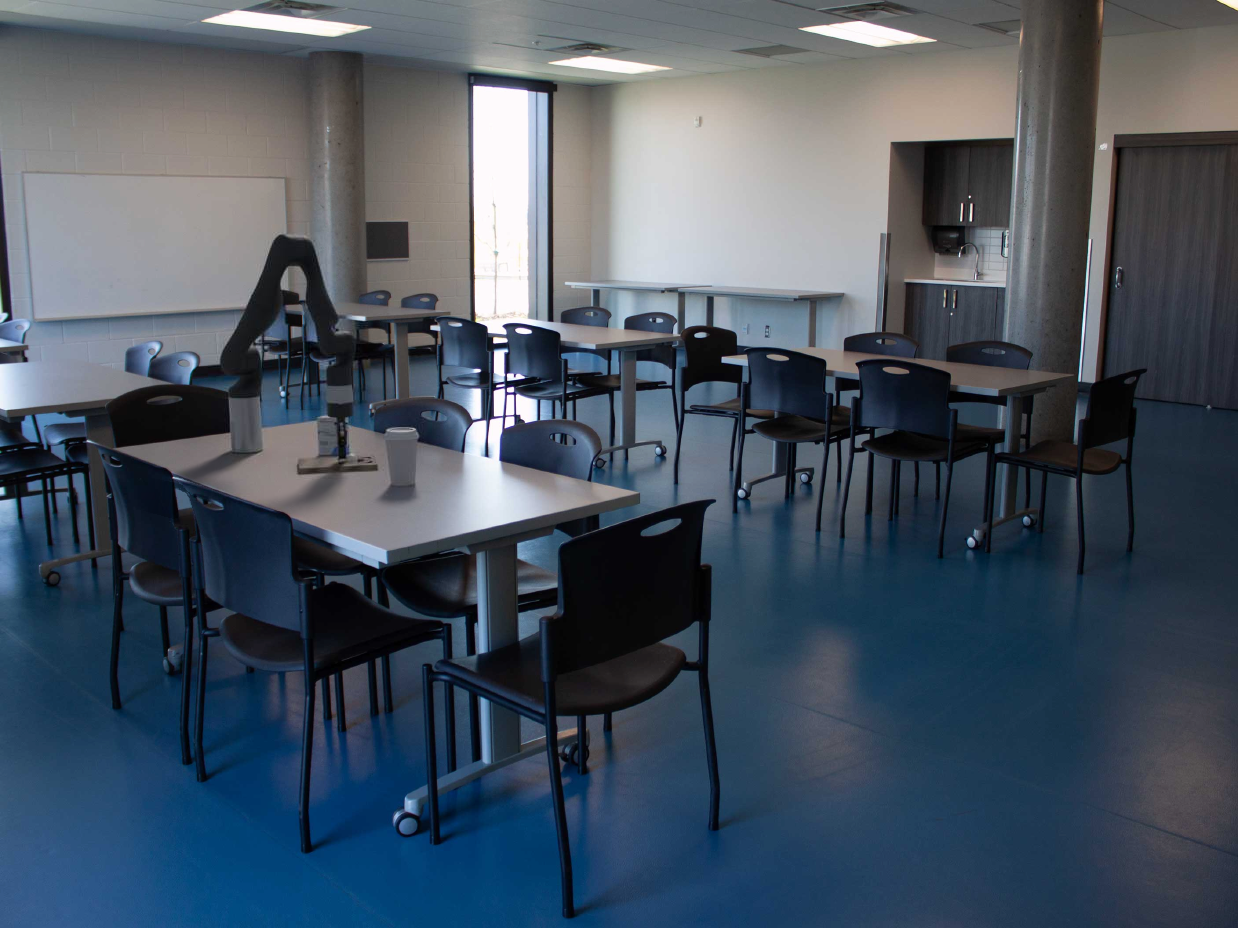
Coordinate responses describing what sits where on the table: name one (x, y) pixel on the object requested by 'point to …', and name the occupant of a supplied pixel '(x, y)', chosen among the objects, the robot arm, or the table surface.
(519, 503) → the table surface
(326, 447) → the ink box
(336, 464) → the wooden board
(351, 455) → the ball
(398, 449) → the coffee cup
